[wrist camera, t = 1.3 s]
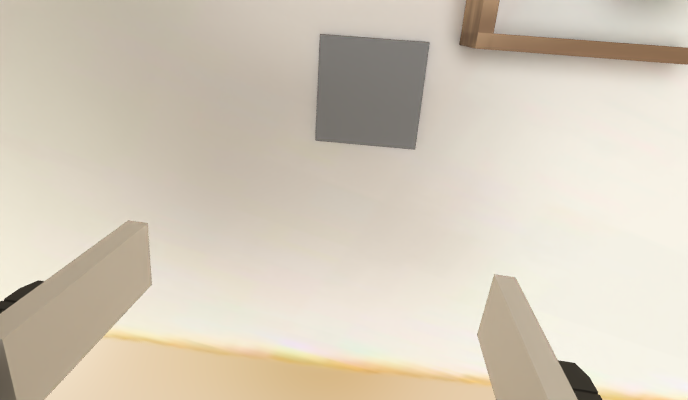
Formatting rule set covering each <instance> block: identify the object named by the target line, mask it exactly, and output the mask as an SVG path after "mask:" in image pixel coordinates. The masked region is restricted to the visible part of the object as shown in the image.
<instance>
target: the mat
mask: <svg viewBox="0 0 688 400" xmlns="http://www.w3.org/2000/svg"><path fill="white" fill-rule="evenodd" d="M428 50H429V42H418V41H405V40H391V39H378V38H365V37H352V36H339V35H325V34H320V48H319V71H318V94H317V116H316V139H315V140H316V141H327V142H338V143H349V144H360V145H371V146H382V147H393V148H403V149H414V150H415V146H416V139H417V132H418V124H419V117H420V109H421V102H422V95H423V87H424V80H425V72H426V65H427V58H428Z"/></svg>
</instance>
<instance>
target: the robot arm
mask: <svg viewBox="0 0 688 400" xmlns="http://www.w3.org/2000/svg"><path fill="white" fill-rule="evenodd" d="M151 285H152V281H151V266H150V251H149V236H148V223H142V222H136V221H129V220H128V221H127V222H125V223H124V224H123V225H121V226H120V227H119V228H117V229H116V230H114V231H113V232H112V233H110V234H109V235H108V236H106V237H105V238H103V239H102V240H101V241H99V242H98V243H97V244H95V245H94V246H92V247H91V248H90V249H88V250H87V251H86V252H84V253H83V254H81V255H80V256H79V257H77V258H76V259H75V260H73V261H72V262H71V263H69V264H68V265H66V266H65V267H64V268H62V269H61V270H60V271H58V272H57V273H55V274H54V275H53V276H51V277H50V278H49V279H47V280H46V281H36V282H34V283H31V284H29V285H27V286H24V287H22V288H20V289H18V290H17V291H15V292H14V293H12V294H11V295H9V296H8V297H7V298H5V299H4V301H1V302H0V400H44V399H45V398H46V397H47V396H48V395H49V394H50V393H51V392H52V391H53V390H54V389H55V388H56V386H57V385H58V384H59V383H60V382H61V381H62V380H63V379H64V378H65V377H66V376H67V375H68V373H70V371H71V370H72V369H73V368H74V367H75V366H76V365H77V364H78V363H79V362H80V361H81V360H82V358H84V357H85V355H86V354H87V353H88V352H89V351H90V350H91V349H92V348H93V347H94V346H95V345H96V344H97V343H98V342H99V340H100V339H101V338H102V337H103V336H104V335H105V334H106V333H107V332H108V331H109V330H110V329H111V328H112V327H113V325H114V324H115V323H116V322H117V321H118V320H119V319H120V318H121V317H122V316H123V315H124V314H125V313H126V312H127V310H128V309H129V308H130V307H131V306H132V305H133V304H134V303H135V302H136V301H137V300H138V299H139V298H140V297H141V296H142V294H143V293H144V292H145V291H146V290H147V289H148V288H149V287H150V286H151ZM477 336H478V339H479V343H480V346H481V350H482V353H483V357H484V360H485V364H486V367H487V371H488V374H489V378H490V381H491V384H492V388H493V391H494V395H495V398H496V400H602V398H601V396H600V395H598V391H597V390H596V388H595V386H594V384H593V383H592V381H591V379H590V377H589V376H588V375H587V374H586V373H585V372H584V371H582V370H581V369H580V368H579V367H578V366H577V365H576V364H575V363H571V362H565V361H558V360H557V358H556V356H555V354H554V352H553V350H552V348H551V346H550V344H549V342H548V340H547V338H546V336H545V334H544V332H543V330H542V329H541V327H540V325H539V323H538V321H537V319H536V317H535V315H534V313H533V311H532V309H531V307H530V305H529V303H528V301H527V299H526V297H525V295H524V293H523V291H522V289H521V287H520V285H519V283H518V281H517V280H516V278H515V277H509V276H502V275H496V274H494V277H493V281H492V284H491V288H490V291H489V295H488V298H487V302H486V305H485V309H484V312H483V316H482V319H481V323H480V326H479V330H478V333H477Z"/></svg>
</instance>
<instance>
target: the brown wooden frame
mask: <svg viewBox="0 0 688 400" xmlns="http://www.w3.org/2000/svg"><path fill="white" fill-rule="evenodd" d="M499 1H500V0H466V7H465V13H464V19H463V25H462V32H461V38H460V44H459V45H463V46H467V47H472V48H477V49H490V50H503V51H516V52H529V53H543V54H556V55H569V56H582V57H595V58H609V59H622V60H635V61H648V62H661V63H674V64H688V48H682V47H669V46H655V45H642V44H628V43H614V42H601V41H587V40H574V39H560V38H546V37H533V36H519V35H506V34H493V33H494V28H495V22H496V17H497V11H498V6H499Z"/></svg>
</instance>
